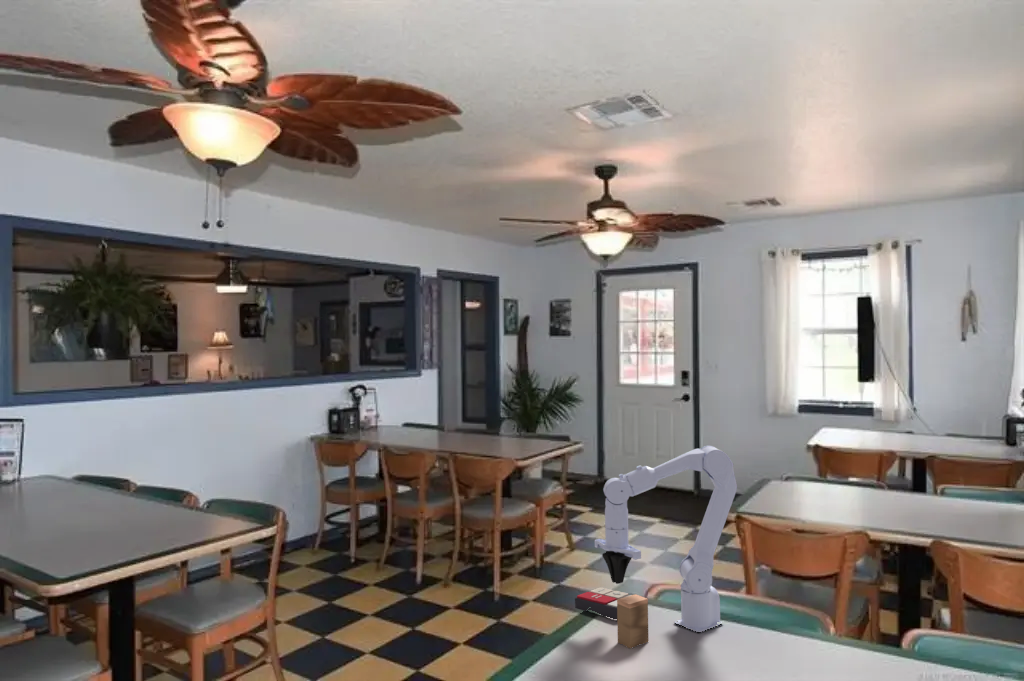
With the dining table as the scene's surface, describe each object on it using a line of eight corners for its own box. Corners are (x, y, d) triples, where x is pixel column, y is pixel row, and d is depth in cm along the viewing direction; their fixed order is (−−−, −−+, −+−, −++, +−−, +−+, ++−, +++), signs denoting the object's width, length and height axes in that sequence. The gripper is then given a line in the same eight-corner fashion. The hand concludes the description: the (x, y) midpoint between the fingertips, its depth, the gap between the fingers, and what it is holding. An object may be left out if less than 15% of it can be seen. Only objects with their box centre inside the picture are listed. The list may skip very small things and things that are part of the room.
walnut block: (636, 636, 164) (635, 594, 165) (648, 642, 161) (647, 598, 161) (617, 642, 161) (617, 599, 161) (630, 648, 158) (629, 604, 158)
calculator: (599, 585, 192) (644, 595, 181) (600, 601, 192) (645, 612, 181) (573, 594, 185) (618, 605, 174) (574, 611, 184) (619, 623, 173)
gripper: (585, 524, 176) (586, 578, 176) (626, 535, 165) (627, 593, 164) (605, 520, 180) (606, 572, 180) (646, 530, 169) (647, 587, 168)
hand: (617, 582), depth 172 cm, fingers closed
